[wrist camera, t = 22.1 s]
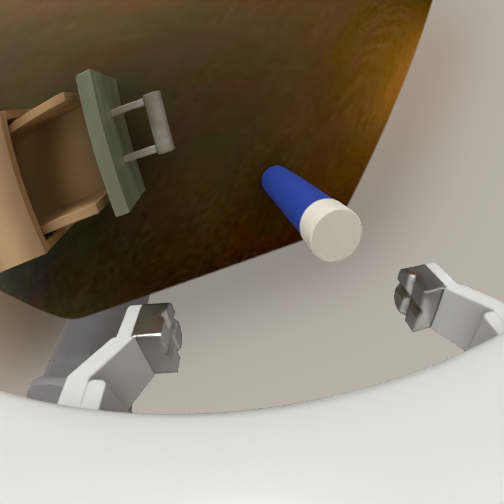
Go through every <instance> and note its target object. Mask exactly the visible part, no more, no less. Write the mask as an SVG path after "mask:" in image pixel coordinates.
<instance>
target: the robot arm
mask: <svg viewBox="0 0 504 504" xmlns="http://www.w3.org/2000/svg"><path fill="white" fill-rule="evenodd" d="M398 280H399V282H400V284H399V285H398V286H397V287H396V289H395V295H394V298H395V304H396V307H397V309H398V311H399V312H400V313H402V314H404V315H406V318H405V321H406V322H407V324H408V325H409V327H410V328H411V330H412V331H413V332H415V331H418V330H422V329H426V328H429V327H431V329H433V330H434V331H436V332H437V333H439V334H440V335H442V336H443V337H445V338H447V339H448V340H449V341H451V342H452V343H454V344H456V345H457V346H458V347H460V348H461V349H463V350H464V351H465V352H463V353H461V354H459V355H456V356H454V357H451V358H449V359H447V360H444V361H442V362H440V363H437V364H435V365H432V366H429V367H427V368H424V369H422V370H419V371H416V372H413V373H410V374H408V375H405V376H402V377H399V378H396V379H393V380H390V381H386V382H383V383H380V384H377V385H373V386H370V387H367V388H363V389H359V390H355V391H352V392H347V393H343V394H339V395H335V396H331V397H326V398H322V399H317V400H312V401H306V402H301V403H295V404H289V405H283V406H276V407H269V408H261V409H253V410H244V411H233V412H218V413H199V414H143V413H130V412H129V411H128V409H129V408H130V406H131V405H132V404H133V402H134V401H135V400H136V399H137V397H138V396H139V395H140V393H141V392H142V391H143V389H144V388H145V387H146V386H147V384H148V383H149V382H150V381H151V379H152V378H153V377H154V375H155V373H173V372H178V368H179V360H180V356H179V354H178V352H177V351H178V350H179V349H180V348H181V345H182V333H181V329H180V325H179V322H178V321H177V320H175V319H174V314H175V311H174V309H173V306H172V304H171V303H159V304H144V305H132V306H129V307H128V309H127V311H126V314H125V316H124V319H123V321H122V324H121V327H120V329H119V332H118V335H117V337H116V338H112V339H111V340H109V341H108V342H107V343H106V344H105V345H104V346H102V347H101V348H100V349H99V350H98V351H96V352H95V353H94V354H93V355H92V356H91V357H89V358H88V359H87V360H86V361H85V362H84V363H82V364H81V365H80V366H79V367H78V368H77V369H75V370H74V371H73V372H72V373H71V374H70V375H68V376H67V379H66V381H65V384H64V386H63V389H62V392H61V394H60V397H59V400H58V402H57V404H55V403H49V402H44V401H40V400H35V399H31V398H27V397H23V396H19V395H15V394H11V393H8V392H4V391H1V390H0V504H504V302H502V301H499V300H497V299H495V298H492V297H490V296H488V295H485V294H483V293H481V292H478V291H476V290H474V289H471V288H469V287H466V286H464V285H462V284H456V283H455V282H454V281H453V280H452V279H451V278H450V277H449V276H448V275H447V274H446V273H445V272H444V271H443V270H442V269H441V268H440V267H439V266H438V265H437V264H436V263H434V262H431V263H426V264H423V265H419V266H415V267H410V268H405V269H401V270H400V272H399V275H398Z"/></svg>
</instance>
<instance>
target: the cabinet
mask: <svg viewBox="0 0 504 504" xmlns="http://www.w3.org/2000/svg"><path fill="white" fill-rule="evenodd" d="M31 110H33V109H22V110H11V111H0V272H3V271H5V270H7V269H10V268H12V267H14V266H17V265H19V264H22V263H24V262H26V261H29V260H31V259H34V258H36V257H39V256H42V255H44V254H46V253H47V252H48V251H49V250H50V249H51V248H52V247H53V245H54V244H55V243H56V242H57V241H58V240H59V239H60V238H61V237H62V236H63V235H64V234H65V232H66V231H67V230H68V229H69V228H70V227H71V226H72V225H73V224H74V223H75V222H74V223H72V224H69V225H66V226H64V227H62V228H59V229H57V230H54V231H52V232H49V233H47V234H45V235H43V233H42V231H41V228H40V226H39V223H38V221H37V219H36V216H35V214H34V211H33V208H32V206H31V203H30V200H29V198H28V195H27V192H26V189H25V186H24V183H23V180H22V177H21V174H20V171H19V167H18V164H17V161H16V157H15V153H14V150H13V146H12V142H11V137H10V133H9V129H8V126H9V125H10V124H11V123H13V122H14V121H16V120H17V119H19V118H20V117H22V116H23V115H25V114H26V113H28V112H29V111H31Z"/></svg>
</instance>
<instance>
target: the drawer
mask: <svg viewBox="0 0 504 504" xmlns="http://www.w3.org/2000/svg"><path fill="white" fill-rule="evenodd" d="M76 80H77V85H78V90H79V94H77V93H69V92H62V93H60V94H58V95H56V96H55V97H53V98H51V99H49V100H48V101H46V102H44V103H42V104H41V105H39V106H37V107H36V108H34V109H33V110H31V111H29V112H28V113H26V114H25V115H23V116H22V117H20V118H19V119H17V120H16V121H14V122H13V123H11V124H10V125H9V126H8V129H9V133H10V137H11V142H12V146H13V150H14V153H15V157H16V161H17V164H18V167H19V171H20V174H21V177H22V180H23V183H24V186H25V189H26V192H27V195H28V198H29V200H30V203H31V206H32V208H33V211H34V214H35V216H36V219H37V221H38V223H39V226H40V228H41V231H42V233H43V235H45V234H47V233H49V232H52V231H54V230H57V229H59V228H62V227H64V226H66V225H69V224H72V223H74V222H77V221H79V220H82V219H84V218H87V217H90V216H92V215H95V214H98V213H99V212H100V211H101V210H102V209H103V208H104V207H105V206H106V205H107V204H108V203H109V202H111V205H112V207H113V210H114V213H115V215H116V217H118V216H121V215H124V214H127V213H130V211H131V210H132V208H133V207H134V205H135V204H136V202H137V201H138V199H139V198H140V197H141V195H142V194H143V192H144V191H145V186H144V183H143V180H142V177H141V173H140V170H139V167H138V163H137V160H136V159H139V158H141V157H144V156H147V155H150V154H154V153H156V152H158V154H163V153H166V152H169V151H172V150H174V149H175V147H174V143H173V140H172V136H171V132H170V128H169V124H168V120H167V116H166V112H165V108H164V104H163V100H162V96H161V92H160V91H154V92H151V93H148V94H146V95H144V96H143V99H140V100H137V101H134V102H131V103H129V104H126V105H123V106H122V105H121V100H120V96H119V92H118V88H117V83H116V79H114V78H111V77H109V76H106V75H104V74H101V73H99V72H96V71H93V70H91V69H89V70H86V71H84V72H82V73H80V74H78V75H76ZM143 106H145V107H146V111H147V115H148V119H149V123H150V126H151V130H152V134H153V138H154V141H155V145H154V146H150V147H147V148H144V149H142V150H139V151H136V152H134V150H133V146H132V143H131V139H130V136H129V132H128V128H127V124H126V121H125V117H124V113H126V112H129V111H131V110H134V109H137V108H140V107H143Z"/></svg>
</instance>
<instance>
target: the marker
mask: <svg viewBox="0 0 504 504" xmlns="http://www.w3.org/2000/svg"><path fill="white" fill-rule="evenodd" d="M262 187H263V189H264V190H265V192H266V193H267V194H268V195H269V196H270V197H271V199H272V200H273V201H274V202H275V203H276V205H277V206H278V207H279V208H280V209H281V211H282V212H283V213H284V214H285V215H286V217H287V218H288V219H289V220H290V222H291V223H292V224H293V225H294V226H295V228H296V229H297V230H298V231H299V233H300V234H301V236H302V238H303V240H304V241H305V242H306V244H307V245H308V246H309V248H310V249H311V250H312V252H313V253H314V254H315V255H316V256H317V257H318V258H319V259H321V260H323V261H327V262H337V261H340V260H343V259H345V258H346V257H348V256H349V255H350V254H352V253H353V252H354V251H355V249H356V248H357V246H358V245H359V243H360V240H361V237H362V224H361V221H360V219H359V217H358V216H357V215H356V214H355V213H354V212H353V211H351V210H350V209H349V208H347V207H346V206H344V205H343V204H342V203H340V202H339V201H337V200H334V199H332V198H330V197H329V196H327V195H326V194H325V193H323V192H322V191H320V190H319V189H317V188H316V187H314V186H313V185H311V184H310V183H308V182H307V181H305V180H304V179H302V178H301V177H299V176H298V175H296V174H295V173H293V172H291V171H290V170H288V169H287V168H285V167H283V166H272V167H270V168H268V169H267V170H266V171H265V172H264V174H263V176H262Z"/></svg>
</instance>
